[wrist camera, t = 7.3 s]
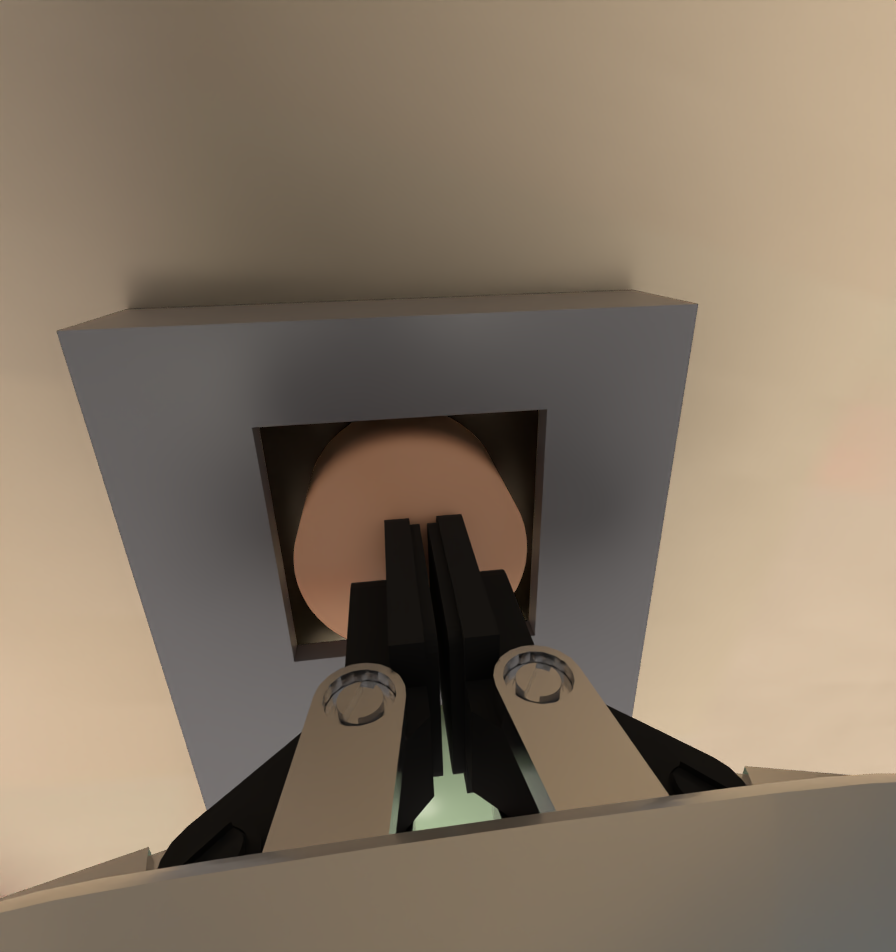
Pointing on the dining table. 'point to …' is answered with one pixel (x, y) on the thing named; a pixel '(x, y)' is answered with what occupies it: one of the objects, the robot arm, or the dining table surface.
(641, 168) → the dining table surface
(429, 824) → the sage button
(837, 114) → the dining table surface
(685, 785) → the robot arm
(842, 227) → the dining table surface
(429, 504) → the terracotta button
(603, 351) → the button panel
